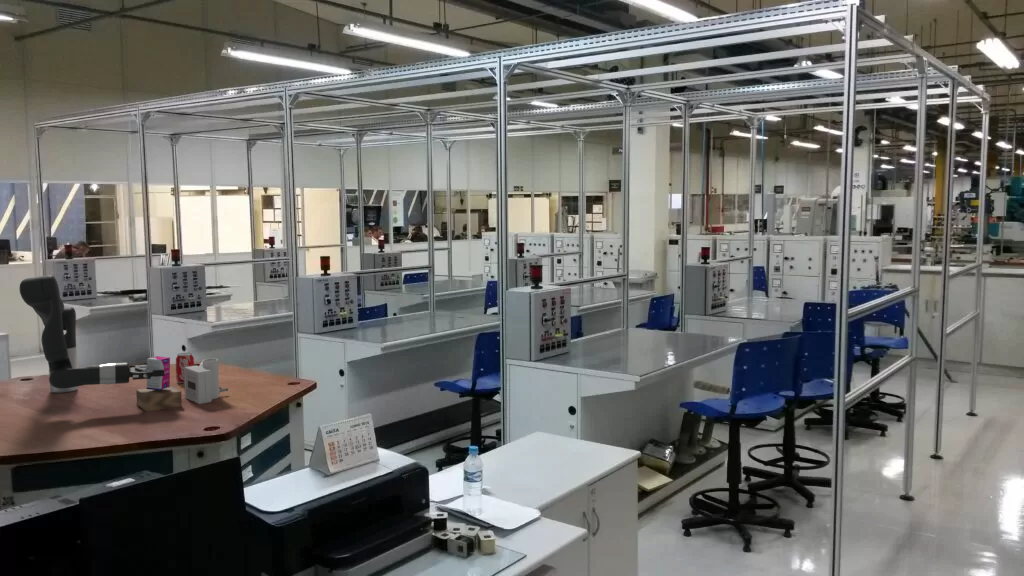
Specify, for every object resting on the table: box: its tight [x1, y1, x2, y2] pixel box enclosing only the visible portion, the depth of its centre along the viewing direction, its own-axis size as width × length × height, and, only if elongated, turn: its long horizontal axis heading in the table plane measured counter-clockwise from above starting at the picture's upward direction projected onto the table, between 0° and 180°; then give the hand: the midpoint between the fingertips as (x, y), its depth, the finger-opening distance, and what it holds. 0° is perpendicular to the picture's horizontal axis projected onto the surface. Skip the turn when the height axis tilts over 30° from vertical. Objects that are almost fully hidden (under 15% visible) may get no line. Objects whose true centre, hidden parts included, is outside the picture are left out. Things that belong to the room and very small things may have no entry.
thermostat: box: [184, 357, 229, 405], centre depth 290 cm, size 12×14×15 cm
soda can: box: [175, 352, 195, 384], centre depth 315 cm, size 7×7×12 cm
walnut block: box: [136, 384, 183, 412], centre depth 278 cm, size 12×12×6 cm
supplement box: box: [146, 355, 171, 390], centre depth 277 cm, size 6×6×12 cm
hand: (163, 370), depth 278 cm, fingers closed on supplement box, 8 cm apart
